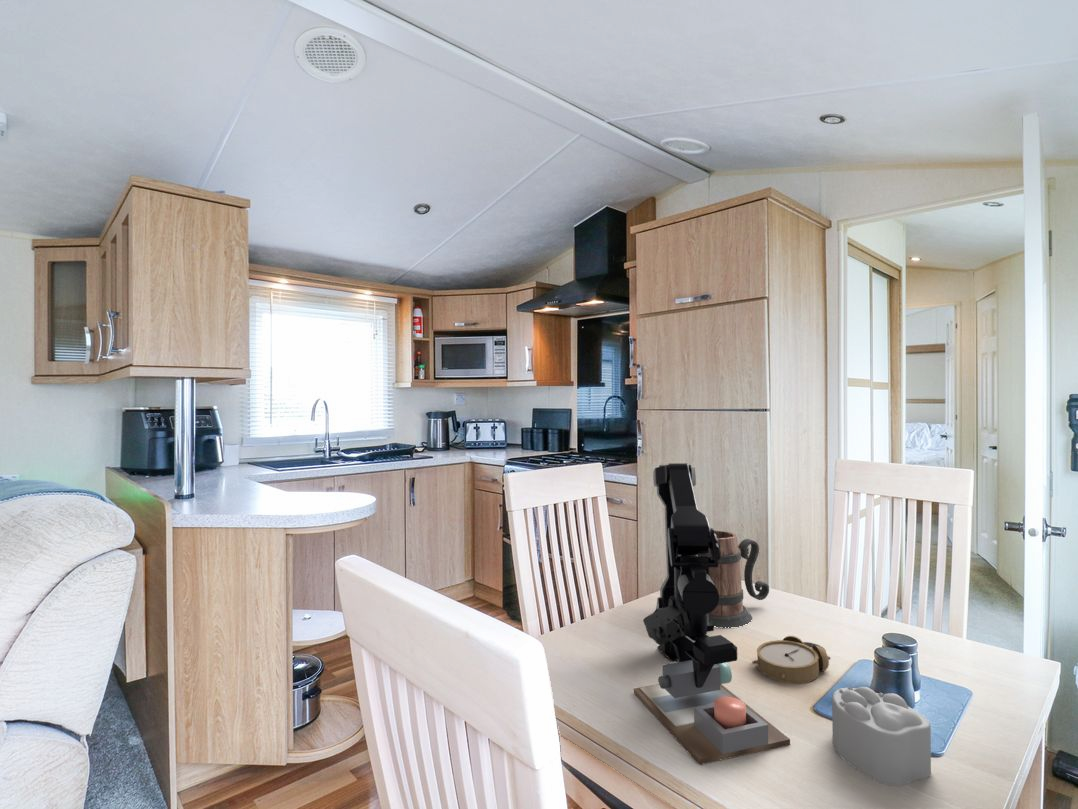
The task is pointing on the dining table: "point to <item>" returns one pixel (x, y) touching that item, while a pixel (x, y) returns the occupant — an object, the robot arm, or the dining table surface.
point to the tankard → (734, 580)
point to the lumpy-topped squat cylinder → (881, 735)
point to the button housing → (731, 730)
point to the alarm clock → (791, 660)
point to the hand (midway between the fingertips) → (692, 681)
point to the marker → (692, 679)
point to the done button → (729, 712)
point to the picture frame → (681, 721)
